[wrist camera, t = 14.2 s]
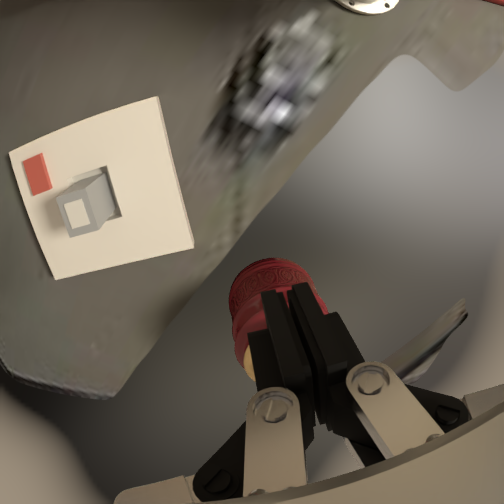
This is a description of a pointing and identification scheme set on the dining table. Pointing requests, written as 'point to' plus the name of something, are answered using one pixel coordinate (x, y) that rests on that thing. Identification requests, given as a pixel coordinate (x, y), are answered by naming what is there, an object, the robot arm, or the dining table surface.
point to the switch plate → (121, 182)
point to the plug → (86, 205)
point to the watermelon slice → (496, 2)
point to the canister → (250, 304)
